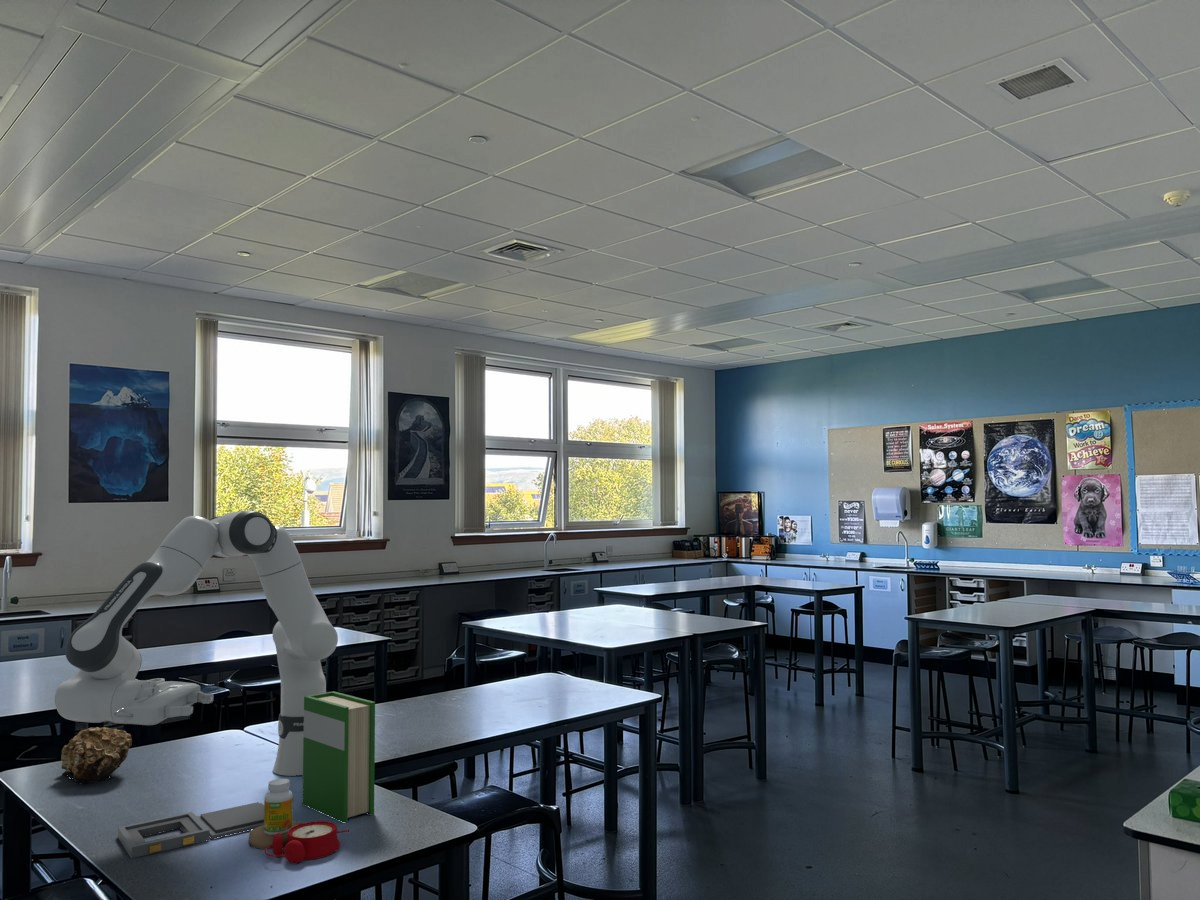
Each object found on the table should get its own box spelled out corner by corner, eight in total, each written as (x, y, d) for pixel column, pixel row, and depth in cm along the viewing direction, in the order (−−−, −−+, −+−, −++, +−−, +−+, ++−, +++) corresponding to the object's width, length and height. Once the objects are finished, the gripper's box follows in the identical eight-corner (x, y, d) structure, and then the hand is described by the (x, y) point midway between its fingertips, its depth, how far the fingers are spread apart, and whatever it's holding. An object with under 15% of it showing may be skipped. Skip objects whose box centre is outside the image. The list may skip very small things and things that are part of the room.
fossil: (37, 765, 217) (70, 707, 222) (92, 779, 226) (123, 723, 231) (65, 791, 201) (100, 728, 206) (123, 805, 210) (156, 744, 215)
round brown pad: (295, 824, 181) (295, 817, 181) (314, 839, 173) (315, 832, 173) (241, 837, 174) (241, 829, 175) (258, 853, 166) (258, 845, 166)
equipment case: (261, 806, 193) (261, 797, 193) (283, 824, 182) (283, 814, 182) (117, 837, 175) (118, 827, 175) (132, 859, 164) (132, 848, 164)
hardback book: (374, 814, 187) (375, 702, 189) (343, 823, 182) (344, 707, 184) (332, 796, 199) (333, 691, 201) (302, 804, 194) (304, 696, 196)
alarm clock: (356, 828, 170) (288, 832, 158) (349, 862, 168) (281, 868, 157) (326, 816, 176) (259, 819, 165) (319, 849, 175) (251, 855, 164)
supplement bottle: (265, 837, 170) (266, 787, 171) (262, 828, 175) (263, 779, 176) (293, 832, 172) (294, 783, 173) (290, 824, 177) (291, 775, 178)
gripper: (109, 699, 171) (178, 702, 171) (161, 676, 192) (223, 678, 192) (107, 731, 171) (177, 734, 171) (160, 704, 192) (222, 706, 192)
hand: (202, 704), depth 182 cm, fingers open, 8 cm apart
